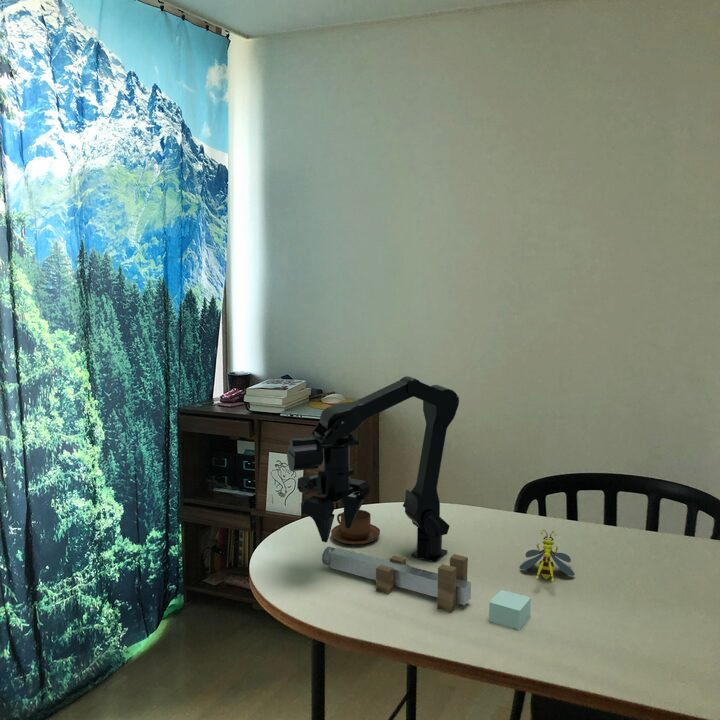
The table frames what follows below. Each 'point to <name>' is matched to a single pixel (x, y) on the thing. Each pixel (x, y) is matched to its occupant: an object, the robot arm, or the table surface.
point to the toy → (547, 559)
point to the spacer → (509, 609)
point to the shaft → (402, 573)
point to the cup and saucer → (356, 529)
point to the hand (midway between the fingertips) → (336, 534)
